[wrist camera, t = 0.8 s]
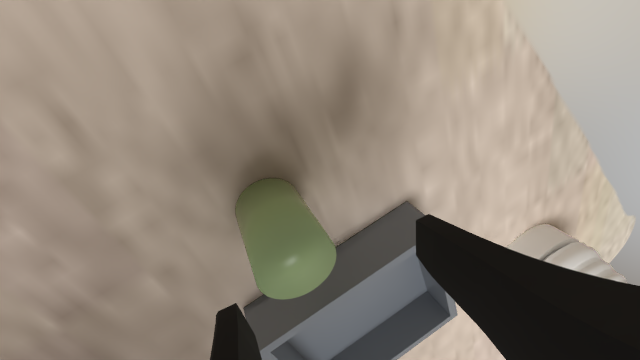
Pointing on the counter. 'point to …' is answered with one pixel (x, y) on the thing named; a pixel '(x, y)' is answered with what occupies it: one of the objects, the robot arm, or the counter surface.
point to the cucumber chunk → (283, 240)
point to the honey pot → (563, 252)
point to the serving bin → (359, 301)
